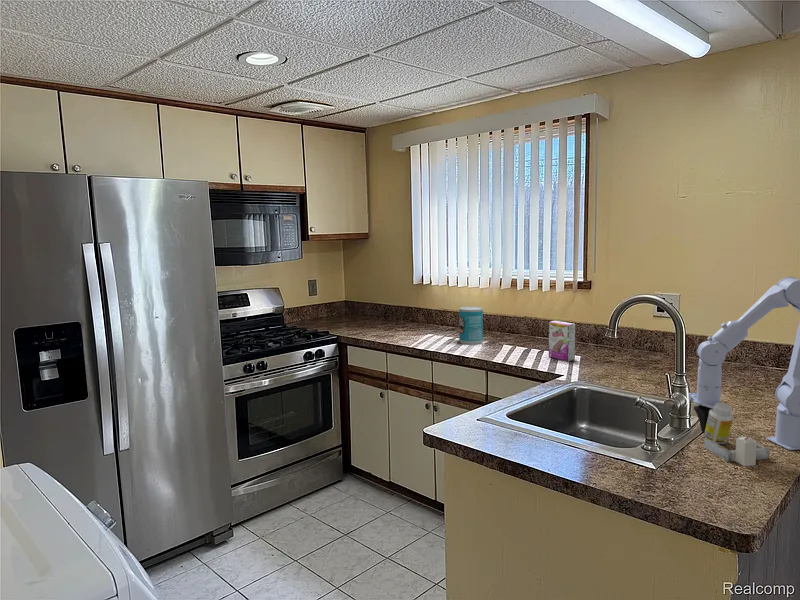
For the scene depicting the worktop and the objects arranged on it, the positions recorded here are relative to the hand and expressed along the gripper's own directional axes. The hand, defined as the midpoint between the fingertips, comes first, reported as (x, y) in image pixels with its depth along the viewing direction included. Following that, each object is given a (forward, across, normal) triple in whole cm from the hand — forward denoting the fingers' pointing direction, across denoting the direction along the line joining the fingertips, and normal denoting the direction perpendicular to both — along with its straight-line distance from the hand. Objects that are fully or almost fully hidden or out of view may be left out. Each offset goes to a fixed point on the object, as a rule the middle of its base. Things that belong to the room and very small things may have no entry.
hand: (706, 432), depth 152 cm
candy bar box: (+1, -94, -4) cm, 94 cm away
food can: (+1, -136, -36) cm, 141 cm away
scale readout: (+1, +17, -2) cm, 18 cm away
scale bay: (+1, +11, 0) cm, 11 cm away
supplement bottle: (+1, +4, 0) cm, 4 cm away
